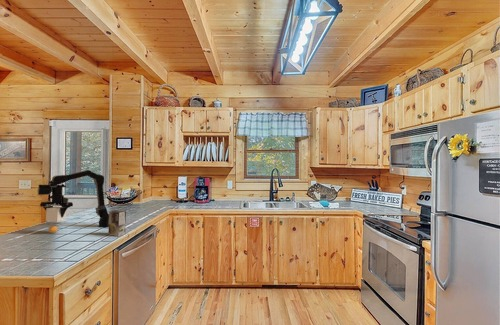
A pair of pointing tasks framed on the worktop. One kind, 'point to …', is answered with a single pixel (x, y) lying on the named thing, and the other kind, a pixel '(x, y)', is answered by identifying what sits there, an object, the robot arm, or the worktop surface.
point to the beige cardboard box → (54, 214)
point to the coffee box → (117, 222)
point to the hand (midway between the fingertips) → (56, 216)
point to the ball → (53, 229)
